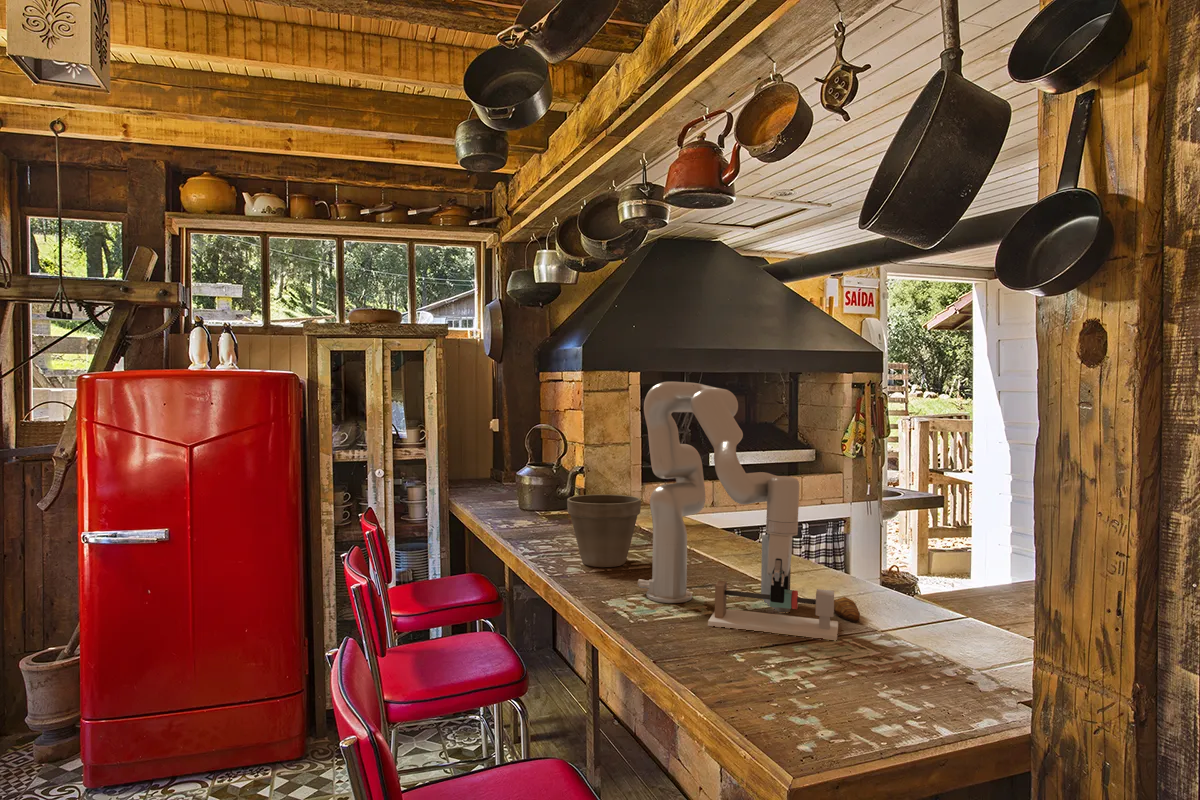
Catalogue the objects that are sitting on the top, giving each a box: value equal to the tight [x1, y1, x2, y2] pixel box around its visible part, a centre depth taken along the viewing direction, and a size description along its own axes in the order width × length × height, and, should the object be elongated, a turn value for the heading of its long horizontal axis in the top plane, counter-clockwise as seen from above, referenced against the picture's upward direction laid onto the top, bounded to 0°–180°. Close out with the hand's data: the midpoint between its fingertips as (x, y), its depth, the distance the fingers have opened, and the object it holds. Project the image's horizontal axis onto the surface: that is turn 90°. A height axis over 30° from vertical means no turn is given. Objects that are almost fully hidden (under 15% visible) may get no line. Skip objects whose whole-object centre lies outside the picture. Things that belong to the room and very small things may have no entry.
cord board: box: [707, 580, 839, 641], centre depth 178 cm, size 30×12×10 cm, turn 71°
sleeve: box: [769, 589, 792, 610], centre depth 178 cm, size 5×4×4 cm
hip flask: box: [760, 532, 792, 613], centre depth 197 cm, size 16×4×20 cm, turn 7°
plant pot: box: [566, 493, 642, 568], centre depth 244 cm, size 25×25×22 cm
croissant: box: [834, 596, 861, 623], centre depth 188 cm, size 14×7×5 cm, turn 6°
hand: (779, 596), depth 178 cm, fingers open, 9 cm apart
